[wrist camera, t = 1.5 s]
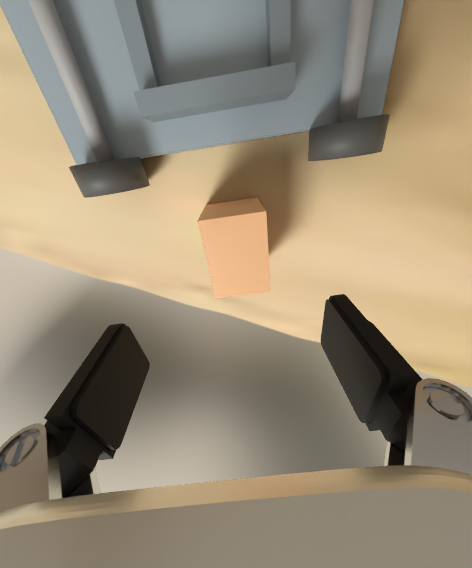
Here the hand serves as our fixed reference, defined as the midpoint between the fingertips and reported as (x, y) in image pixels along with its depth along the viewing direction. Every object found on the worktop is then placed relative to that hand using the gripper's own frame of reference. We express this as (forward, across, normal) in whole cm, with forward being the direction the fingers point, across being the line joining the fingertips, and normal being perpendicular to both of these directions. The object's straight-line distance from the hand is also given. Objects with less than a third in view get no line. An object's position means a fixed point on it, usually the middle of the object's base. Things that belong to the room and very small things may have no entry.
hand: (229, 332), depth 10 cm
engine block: (+14, -1, 0) cm, 14 cm away
